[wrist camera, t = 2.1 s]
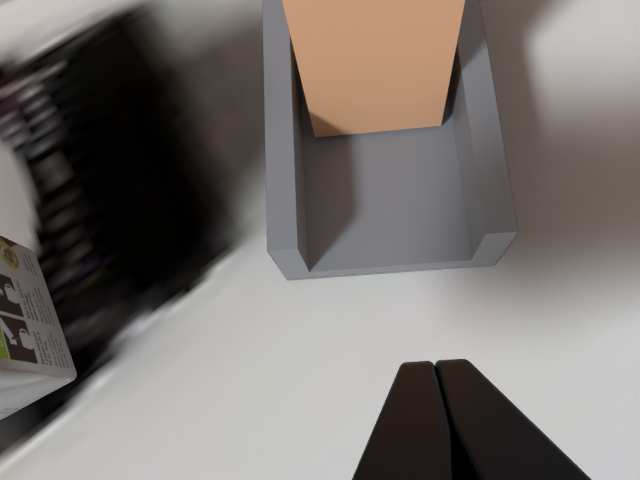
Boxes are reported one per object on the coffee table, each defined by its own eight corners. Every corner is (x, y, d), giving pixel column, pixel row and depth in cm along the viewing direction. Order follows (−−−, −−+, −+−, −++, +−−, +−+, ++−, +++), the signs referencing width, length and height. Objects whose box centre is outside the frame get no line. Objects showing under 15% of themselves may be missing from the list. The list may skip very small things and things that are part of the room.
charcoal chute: (494, 265, 21) (518, 231, 18) (287, 280, 22) (267, 251, 18) (446, -54, 26) (456, -134, 22) (277, -34, 27) (260, -108, 23)
